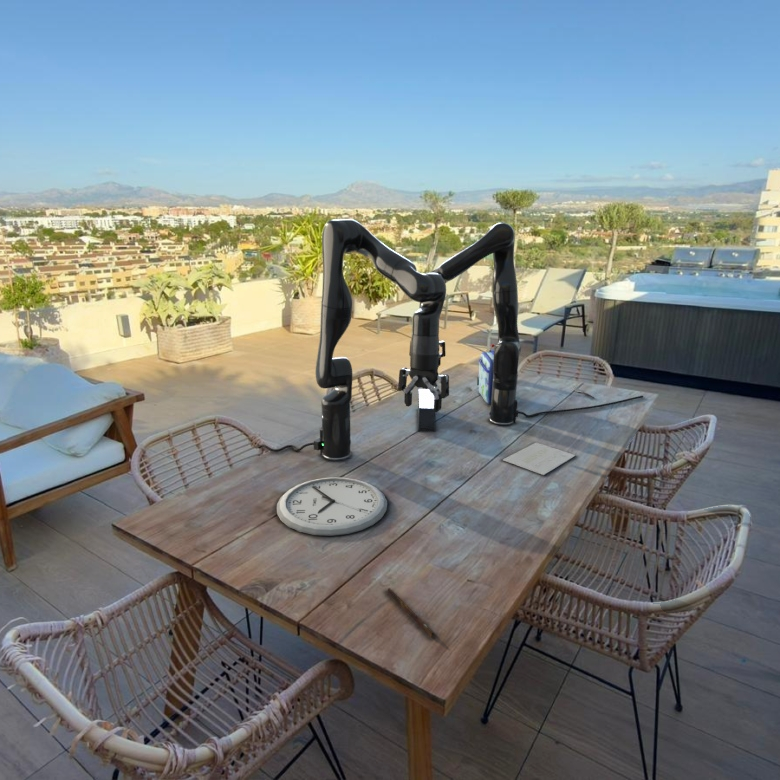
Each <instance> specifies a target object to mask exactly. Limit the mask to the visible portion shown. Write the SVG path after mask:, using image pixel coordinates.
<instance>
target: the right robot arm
mask: <svg viewBox="0 0 780 780" xmlns="http://www.w3.org/2000/svg"><path fill="white" fill-rule="evenodd" d="M515 240H516V231H515V229H514V228H513V226H512V225H510V224H509V223H506V222H498V223H496V224H494V225H493V226H492V227H491V228H490V229H489V230H488V231H487V232H486V233H485V234H484V235H483V236H481V238H479V239H478V240H477V241H475V242H474V243H473V244H472V245H470V246H468V247H467V248H465V249H464V250H462V251H460V252H458V253H456V254H455V255H454V256H452V257H450V258H449V259H447V260H446V261H444V262H443V263H441V264H440V265H439V266H438V267H437V268H435V269H434V270H431V271H430V272H429V273H437V274H439V275H441V276H442V277H443V279H444V281H445V284H447V283H448V282H450V281H452V280H454V279H455V278H458V276H460V275H462V274H463V273H465V272H467V270H469V269H471V268H472V267H473V266H474V265H476V264H477V263H478V262H480V261H481V260H483V259H485V258H486V257H488V256H491V255H492V258H493V272H492V279H491V280H492V282H491V295H492V297H491V298H492V304H493V305H492V307H493V312H494V315H495V318H496V323H497V344H496V347H495V350H494V359H493V385H492V398H491V404H490V410H489V415H488V416H489V422H490V423H491V424H494V425H497V426H511V425H513V424H516V423H517V418H518V417H519V415H523V416H524V417H526V418H533V417H535V416H536V417H537V416H539V415H546V414H554V413H564V412H565V413H566V412H573V411H581V410H588V409H595V408H600V407H606V406H607V407H608V406H612V405H617V404H620V403H625V402H628V401H634V400H636V399H638V400H639V399H642V398H644V395H638V396H634V397H629V398H626V399H621V400H617V401H613V402H608V403H603V404H596V405H591V406H581V407H575V408H566V409H558V410H546V411H539V412H535V413H532V414H527V413H525V412H523V411H520V410H518V399H517V388H518V377H519V373H518V371H519V370H518V369H519V359H520V355H521V351H522V349H521V348H522V347H521V341H520V335H519V328H518V316H519V315H518V314H519V293H518V291H519V290H518V280H517V273H516V272H517V271H516V267H515V242H516V241H515ZM421 304H422V302H419V306H418V307H419V308H418V310H419V309H420V308H421ZM439 348H441V353H440V352H439V361H438V368H440V366H441V362H442V361H441V359H442V358H445V357H446V356H447V355H446V341H445V340H441V341H440V340H439ZM410 351H411V340H410V342H409V354H408V355H409V356H410Z"/></svg>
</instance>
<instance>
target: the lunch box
mask: <svg viewBox="0 0 780 780" xmlns="http://www.w3.org/2000/svg"><path fill="white" fill-rule="evenodd" d="M493 359H494V350H491V352H489V351H482V352H481V354H480V358H479V360H478V377H477V381H476V384H477V385H476V386H478V393H479V395H480V396H481V397H482V399H483V400H484V402H485V404H487V405H488V406H489V405H490V406H491V398H492V385H493Z"/></svg>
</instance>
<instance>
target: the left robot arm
mask: <svg viewBox="0 0 780 780" xmlns="http://www.w3.org/2000/svg"><path fill="white" fill-rule="evenodd" d="M321 247H322V248H321V253H322V290H321V301H320V326H319V327H320V329H319V341H318V347H317V353H316V361H315V369H314V370H315V374H314V375H315V380H316V384H317V386H318V387H319V388H321V389H332V390H331V391H330V392H329V393H328V394H326V395H324V396H323V397H322V398H321V427H319V438H317V439H315V440H313V441H312V442H308V443H305V444H303V445H301V446H300V447H298V448H297V447H296V446H295V445H293V444H287V445H284V446H282V447H280V448H271V447H269V446H268V445H266V444H263V443H262V444H260V445H258V446H257V449H261V448H265V449H266V450H268V451H270V452H273V453H275V452H276V453H278V452H281V451H284V450H286V449H289V448H292V449H293V451H295V452H300V451H302V450H304V449H305V448H306V447H309V446H313V450H314V451H318V452H319V455H320V456H322V457H323V458H324V460H328V461H330V462H331V461H332V462H341V461H345V460H347V459H349V458H351V456H352V452H351V444H352V440H351V401H352V397H353V377H354V376H353V366H352V363H351V360H350V359H349V358H348V357H345V356H339V357H334V353H335V349H336V347H337V345H338V343H339V341H340V340H341V338H342V337H343V336H344V334H345V333H346V331H347V330H348V328H349V327H350V324H351V321H352V315H353V305H354V304H353V303H354V302H353V301H354V300H353V295H352V293H351V289H350V287H349V285H348V283H347V281H346V278H345V276H344V256H345V254H352V253H357V254H359V255H362V256H364V257H366V258H368V259H369V261H371V263H372V264H373V267H374V269H375V270H376V271H377V272H378V273H379V274H380V275H381V276H382V277H384V278H385V279H387V280H388V281H390V282H392V283H393V284H395V285H397V286H398V288H399V289H400V290H401V291H402V292H403V293H404V294H405V295H406V297H408V299H410V300H412V301H414V302H416V303H420V302H422V304H421V308H420V309H419V308H418V310H416V311H415V312H414V313H413V315H412V320H411V321H412V322H411V324H412V325H411V339H410V341H411V351H410V350H409V353H410V355H409V366H410V369H409V368H407V367H403V368H401V369H399V373H398V383H397V384H398V385H397V389H398V390H399V391H402V392H403V394H404V397H403V398H404V399H403V401H404V404H405V407H411V406H412V404H413V392H412V391H413V390H414V388H415V387H416V388H418V389H429V391H430V392H431V393H432V394H433V395H434V412H435V413H438V412H439V411H441V410H442V401H443V399H445V398H447V397H449V396H450V375H449V374H448V373H447V374H444V375H443V374H439V371H438V370H439V367H438V361H439V353H440V345H439V342H440V317H441V315H442V311H443V308H444V304H445V301H446V297H447V283H445V281H444V279H443V277H442V276H441V275H439V274H437V273H430V272H428V273H420V272H419V271H417V266H416V265H415V263H414V262H412V261H411V260H410V259H408V258H406V257H405V256H402V255H401V254H400V253H398V252H396V251H394V250H393V249H392V248H390V247H388V246H387V245H386V244H384V243H383V242H382V241H380V240H379V239H378V238H377V237H376V236H375V235H373V234H372V233H371V231H369V229H367V227H365V226H364V225H363V224H361V223H360V222H359V221H357V220H355V219H351V218H347V219H345V218H344V219H331V220H328V221H327V222H326V223H325V224H324V227H323V229H322V235H321ZM408 377H410V379H411V380H410V382H409V383H408V384H407V381H408ZM438 381H439V383H440V385H439V384H438Z"/></svg>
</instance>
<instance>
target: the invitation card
mask: <svg viewBox="0 0 780 780" xmlns="http://www.w3.org/2000/svg"><path fill="white" fill-rule="evenodd" d="M576 456H577V455H576V454H573V453H570V452H567V451H565V450H561V449H558V448H555V447H552V446H549V445H546V444H543V443H539V442H534V443H532V444H529V445H528V446H526V447H524V448H522V449H520V450H518V451H516V452H514V453H512V454H510V455H509V456H507V457H505V458H503V459H502V461H503V462H506V463H509V464H511V465H514V466H518V467H520V468H523V469H525V470H528V471H531V472H534V473H536V474H539V475H541V476H545V475H547V474H548V473H550V472H552V471H554V469H556V468H558V467H559V466H561V465H563V464H564V463H566V462H568V461H570V460H571V459H572V458H574V457H576Z"/></svg>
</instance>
